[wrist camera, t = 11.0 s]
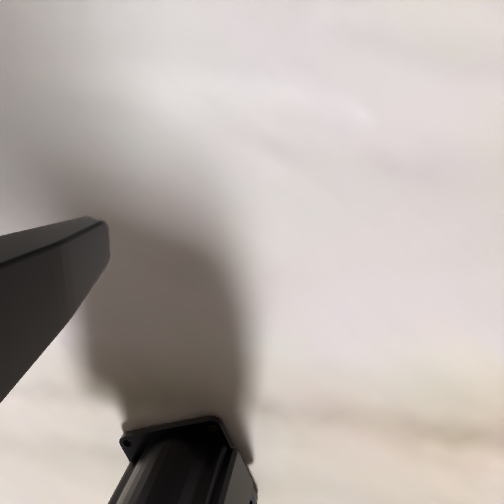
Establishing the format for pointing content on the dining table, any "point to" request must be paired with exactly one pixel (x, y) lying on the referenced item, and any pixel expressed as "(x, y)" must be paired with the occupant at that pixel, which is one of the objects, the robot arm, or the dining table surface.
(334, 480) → the dining table surface
